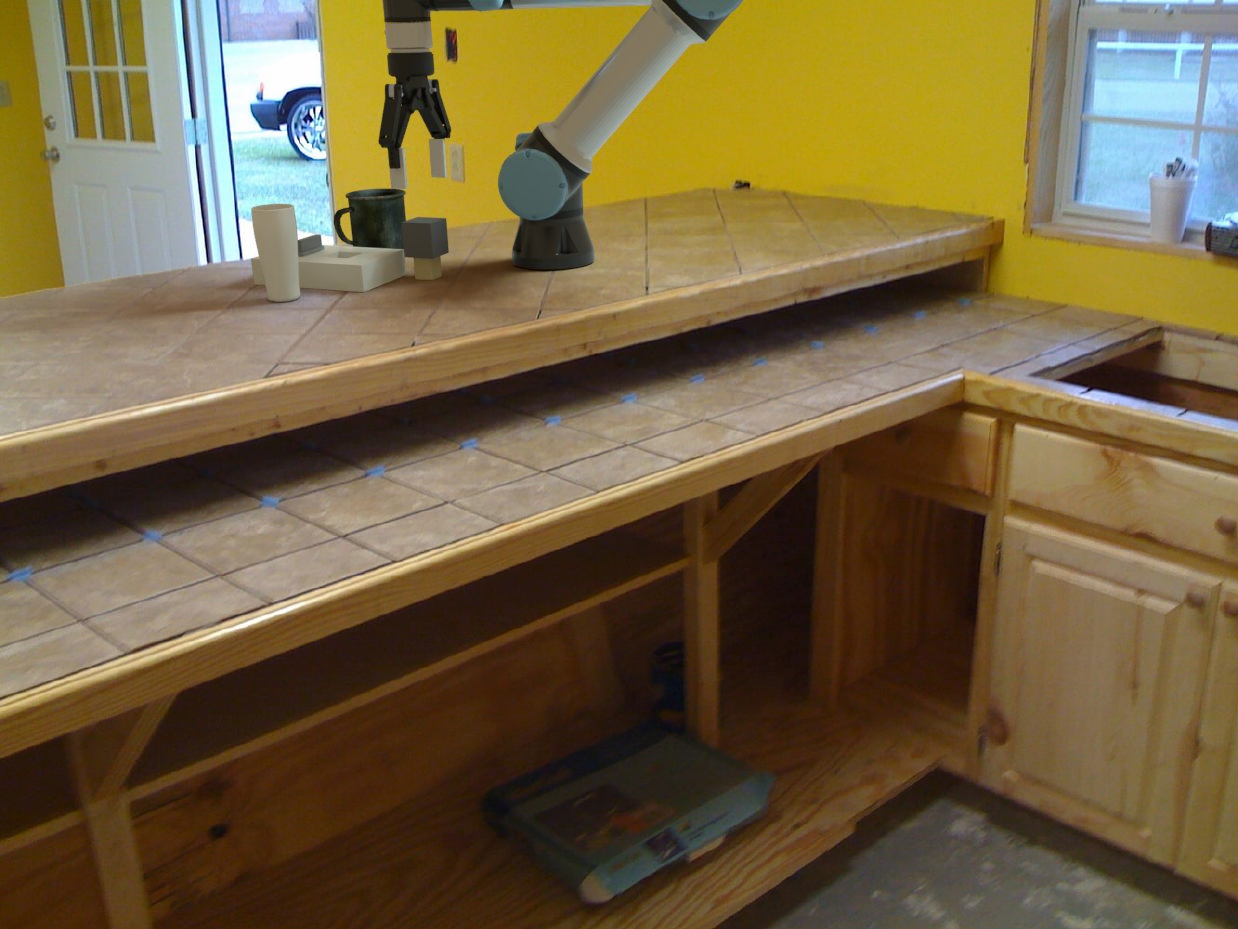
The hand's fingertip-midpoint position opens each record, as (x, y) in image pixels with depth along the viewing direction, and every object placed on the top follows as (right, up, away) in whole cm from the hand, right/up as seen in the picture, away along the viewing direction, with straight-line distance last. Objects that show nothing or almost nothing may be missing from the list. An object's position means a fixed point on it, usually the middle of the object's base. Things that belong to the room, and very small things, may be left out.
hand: (420, 182), depth 202 cm
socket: (-17, -16, +6) cm, 23 cm away
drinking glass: (-21, -21, -7) cm, 31 cm away
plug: (+1, -15, +6) cm, 16 cm away
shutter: (-22, -11, +6) cm, 26 cm away
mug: (-13, -9, +24) cm, 28 cm away
